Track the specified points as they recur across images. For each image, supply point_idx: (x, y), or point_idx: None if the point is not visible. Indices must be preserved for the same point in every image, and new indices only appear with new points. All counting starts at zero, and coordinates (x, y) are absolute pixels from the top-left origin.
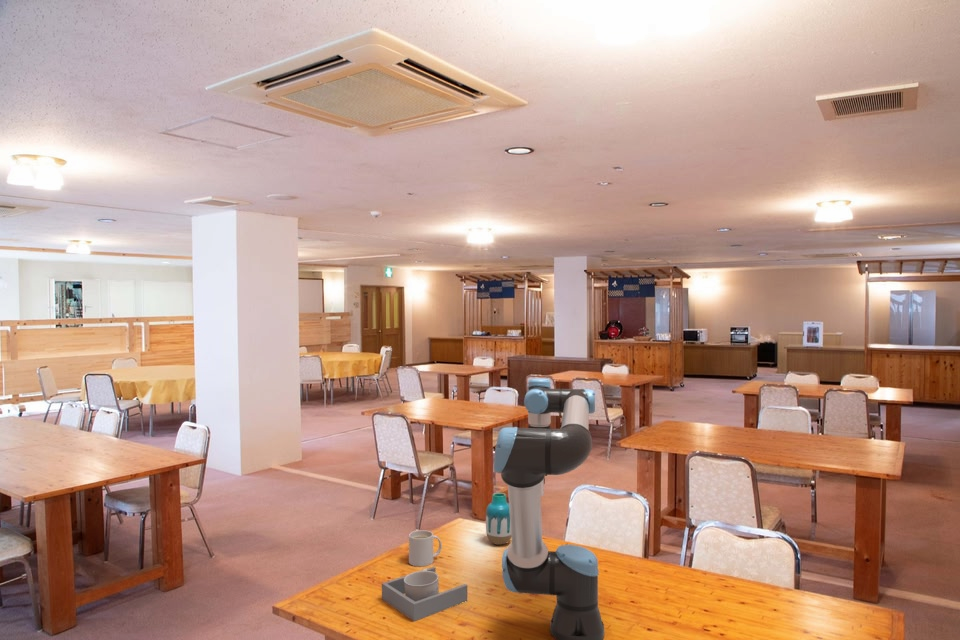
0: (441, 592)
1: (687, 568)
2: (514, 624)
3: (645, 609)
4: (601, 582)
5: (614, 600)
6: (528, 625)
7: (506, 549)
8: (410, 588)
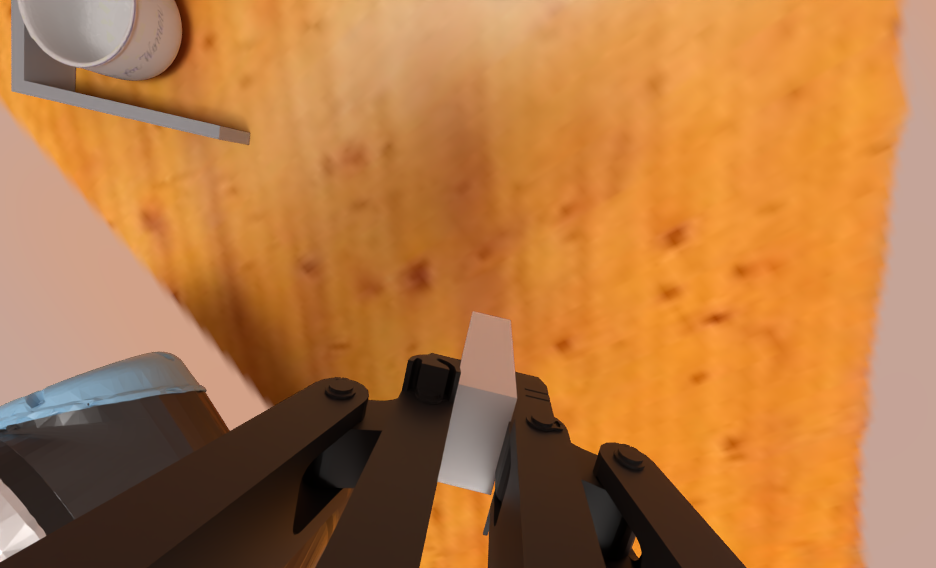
0: (122, 104)
1: (853, 564)
2: (241, 329)
3: None
4: (606, 402)
5: None
6: (261, 359)
7: (6, 415)
8: (33, 9)
